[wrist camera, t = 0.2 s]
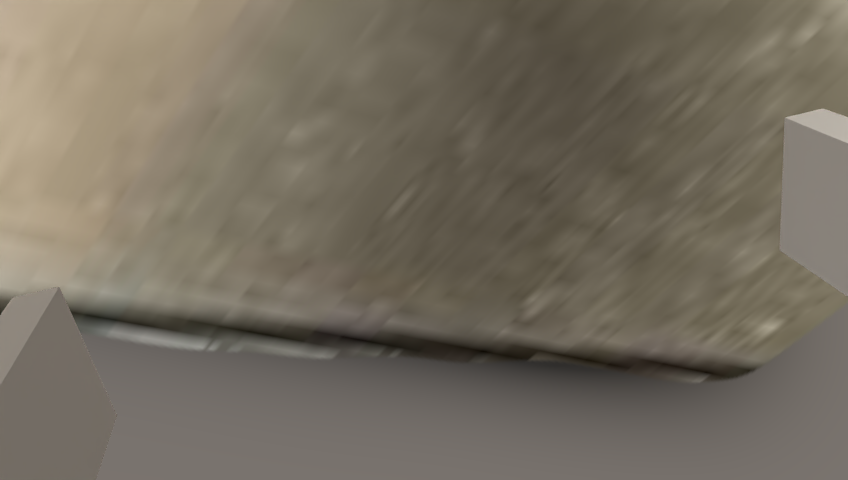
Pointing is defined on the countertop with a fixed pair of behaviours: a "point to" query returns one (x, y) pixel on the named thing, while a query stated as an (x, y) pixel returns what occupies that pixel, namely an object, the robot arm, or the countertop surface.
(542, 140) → the countertop surface
